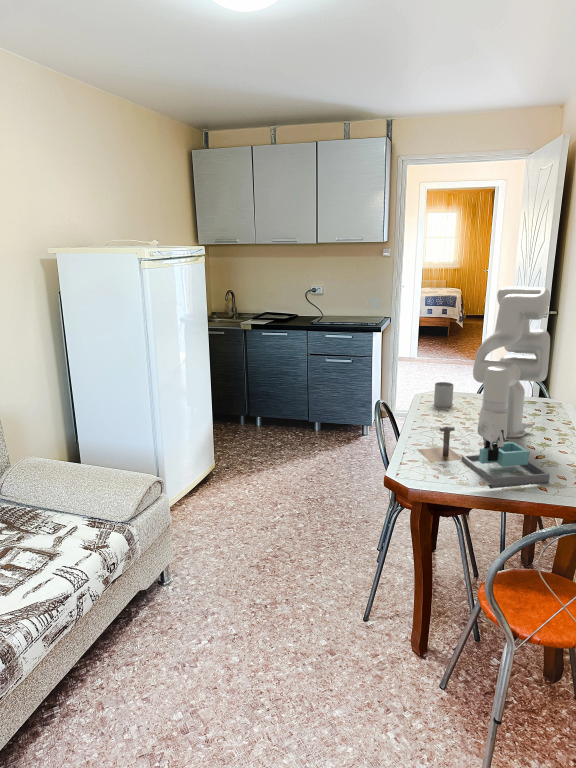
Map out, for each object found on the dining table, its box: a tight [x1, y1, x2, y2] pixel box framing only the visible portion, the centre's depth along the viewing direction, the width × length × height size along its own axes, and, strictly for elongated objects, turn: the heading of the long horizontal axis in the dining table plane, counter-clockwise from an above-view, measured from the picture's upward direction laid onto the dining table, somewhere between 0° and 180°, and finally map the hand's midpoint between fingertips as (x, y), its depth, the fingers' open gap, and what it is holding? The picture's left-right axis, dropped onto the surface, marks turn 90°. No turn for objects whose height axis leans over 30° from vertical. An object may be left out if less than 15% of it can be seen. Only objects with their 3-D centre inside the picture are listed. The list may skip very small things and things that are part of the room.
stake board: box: [417, 426, 462, 463], centre depth 186 cm, size 12×12×12 cm
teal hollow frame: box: [478, 441, 530, 468], centre depth 172 cm, size 9×14×4 cm, turn 99°
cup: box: [433, 381, 454, 408], centre depth 249 cm, size 8×8×10 cm
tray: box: [461, 453, 551, 489], centre depth 174 cm, size 20×20×3 cm
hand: (490, 458), depth 172 cm, fingers closed on teal hollow frame, 2 cm apart
